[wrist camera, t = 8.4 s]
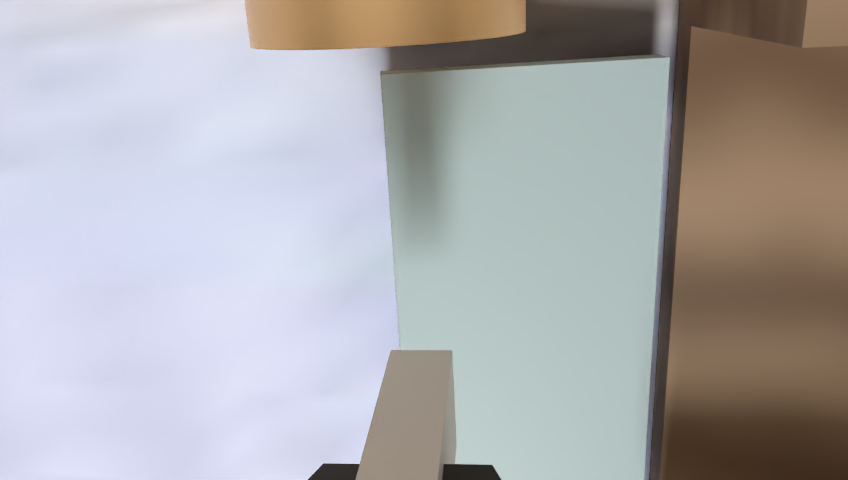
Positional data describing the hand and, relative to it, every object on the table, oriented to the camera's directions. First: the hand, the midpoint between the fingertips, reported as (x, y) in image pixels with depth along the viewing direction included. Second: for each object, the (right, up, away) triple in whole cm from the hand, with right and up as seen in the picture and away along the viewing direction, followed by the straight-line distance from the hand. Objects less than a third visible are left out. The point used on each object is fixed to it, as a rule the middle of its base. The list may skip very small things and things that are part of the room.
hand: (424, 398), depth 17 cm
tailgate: (+7, +2, +5) cm, 9 cm away
